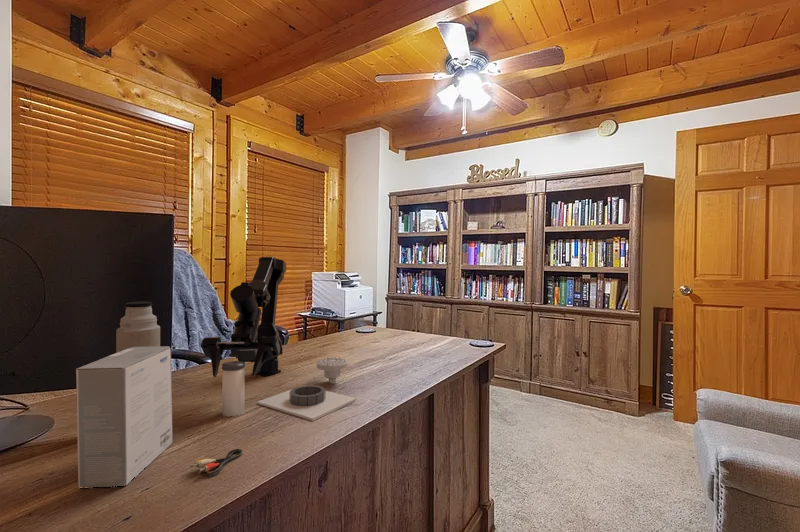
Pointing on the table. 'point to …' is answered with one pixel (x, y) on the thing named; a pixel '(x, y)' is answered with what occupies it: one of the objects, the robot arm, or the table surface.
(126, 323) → the thermos bottle
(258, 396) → the table surface
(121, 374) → the hard drive box
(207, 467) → the composite cable
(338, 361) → the showerhead
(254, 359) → the robot arm
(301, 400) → the socket
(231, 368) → the canister
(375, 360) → the table surface
